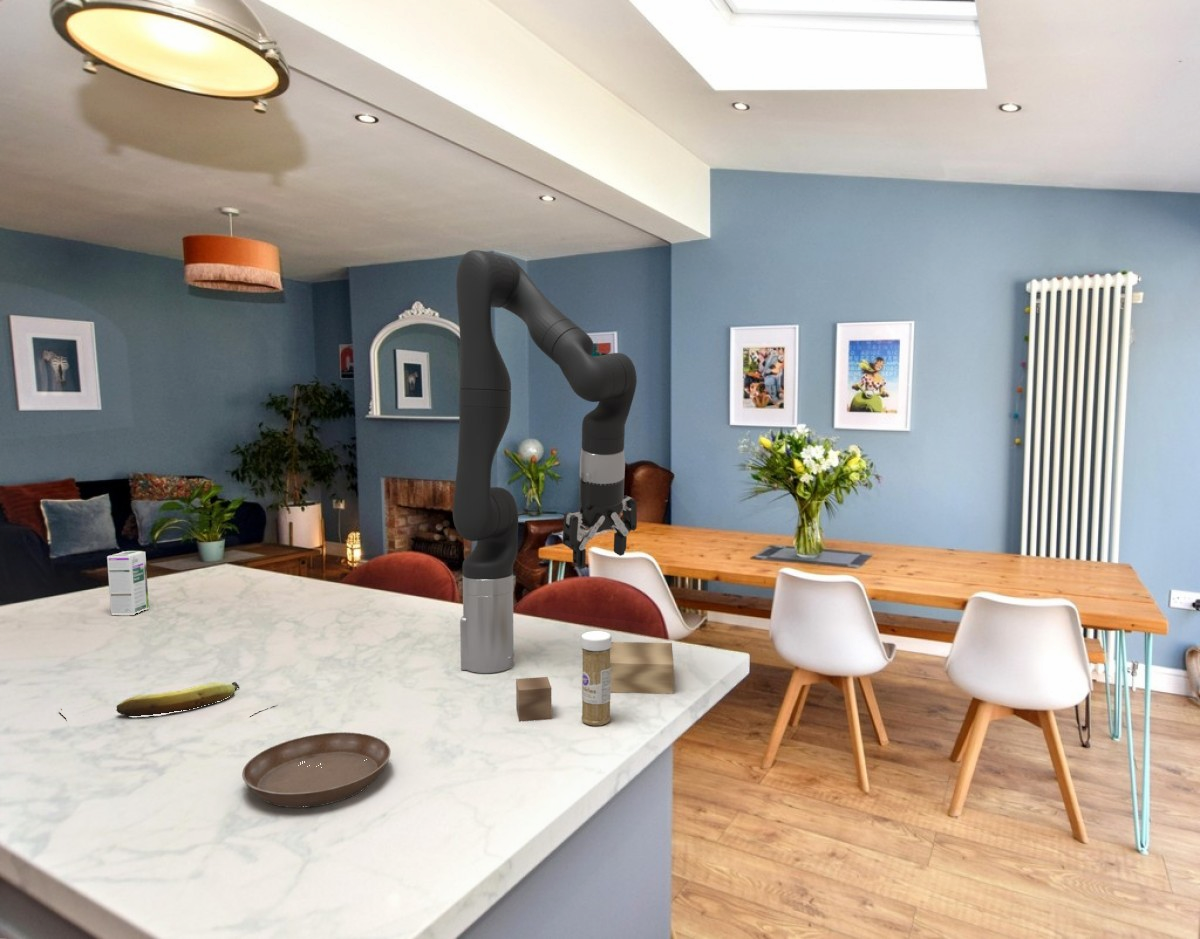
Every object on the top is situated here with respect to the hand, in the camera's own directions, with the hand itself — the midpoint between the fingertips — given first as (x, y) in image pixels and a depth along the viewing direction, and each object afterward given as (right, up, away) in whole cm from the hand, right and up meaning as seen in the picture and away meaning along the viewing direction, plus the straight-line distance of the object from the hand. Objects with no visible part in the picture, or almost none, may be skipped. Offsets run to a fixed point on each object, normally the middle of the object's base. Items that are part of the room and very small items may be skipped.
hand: (599, 560), depth 131 cm
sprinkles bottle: (0, -23, -16) cm, 28 cm away
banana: (-67, -23, -9) cm, 72 cm away
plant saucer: (-36, -24, -35) cm, 56 cm away
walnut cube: (-10, -23, -14) cm, 28 cm away
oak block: (+7, -21, +1) cm, 22 cm away
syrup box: (-112, -19, +48) cm, 123 cm away
